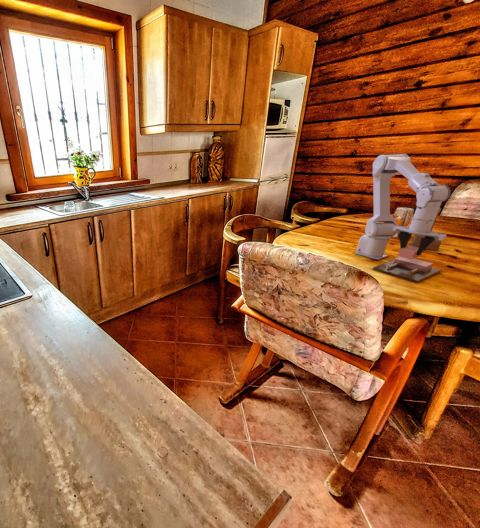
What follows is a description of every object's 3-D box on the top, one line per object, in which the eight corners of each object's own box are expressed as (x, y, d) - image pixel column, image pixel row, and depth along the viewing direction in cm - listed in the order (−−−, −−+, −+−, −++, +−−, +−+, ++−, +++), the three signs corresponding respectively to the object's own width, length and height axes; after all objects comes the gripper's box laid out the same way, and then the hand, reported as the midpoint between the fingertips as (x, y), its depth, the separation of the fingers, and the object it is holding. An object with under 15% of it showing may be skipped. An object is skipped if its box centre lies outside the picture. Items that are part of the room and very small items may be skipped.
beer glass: (383, 234, 152) (392, 207, 146) (395, 234, 152) (404, 206, 146) (395, 238, 145) (405, 210, 139) (407, 237, 146) (418, 209, 140)
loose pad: (397, 255, 110) (400, 248, 109) (406, 252, 112) (409, 245, 111) (411, 259, 106) (414, 252, 105) (420, 255, 109) (423, 248, 108)
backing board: (372, 269, 115) (375, 261, 114) (396, 260, 122) (398, 253, 120) (416, 283, 103) (420, 274, 102) (439, 272, 110) (443, 264, 109)
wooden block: (436, 248, 131) (452, 210, 124) (437, 251, 128) (454, 213, 121) (410, 244, 137) (424, 208, 130) (411, 247, 134) (425, 210, 127)
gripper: (455, 221, 99) (440, 256, 104) (404, 213, 111) (393, 245, 116) (446, 224, 96) (431, 260, 101) (395, 216, 108) (384, 248, 114)
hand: (410, 252), depth 109 cm, fingers closed on loose pad, 4 cm apart
